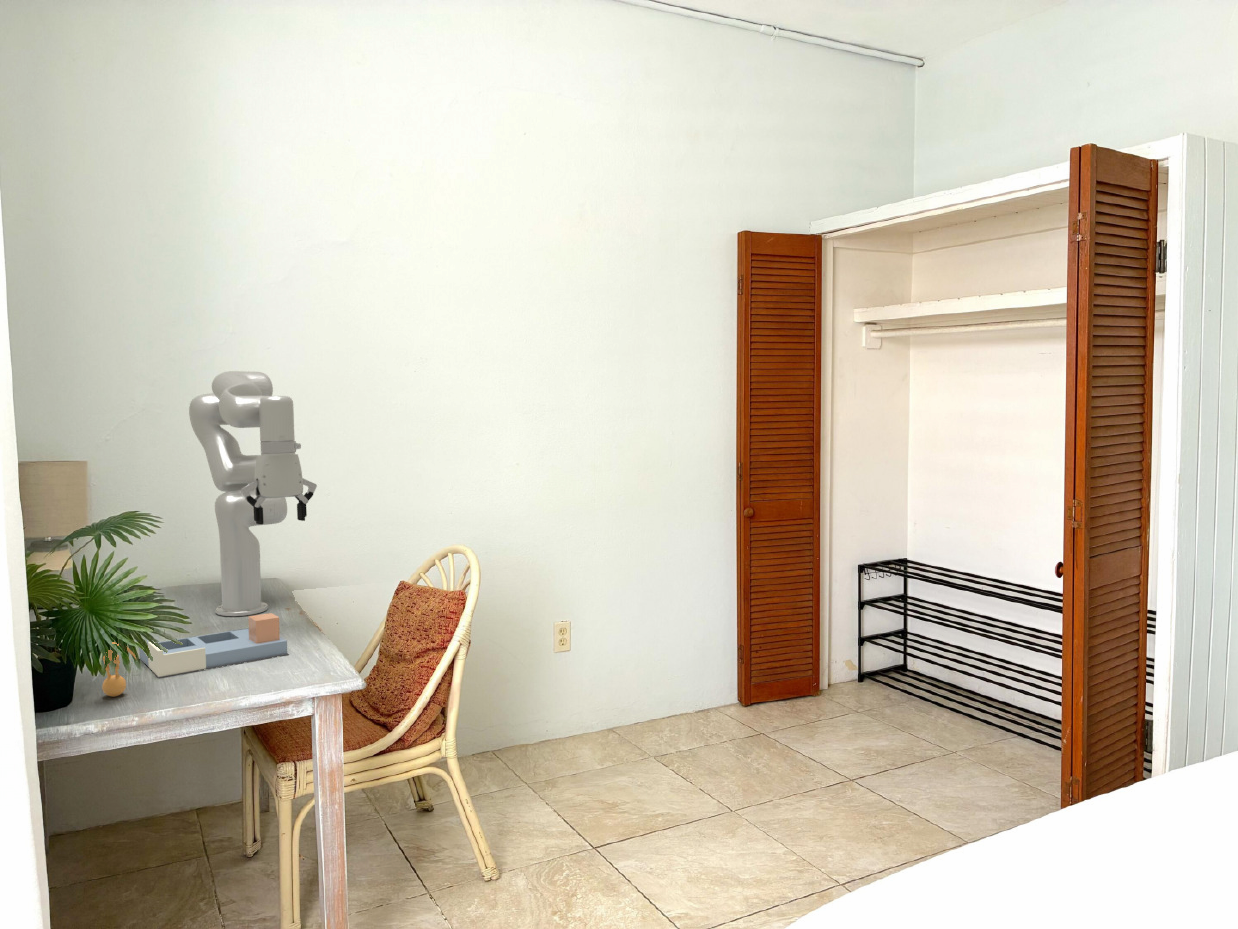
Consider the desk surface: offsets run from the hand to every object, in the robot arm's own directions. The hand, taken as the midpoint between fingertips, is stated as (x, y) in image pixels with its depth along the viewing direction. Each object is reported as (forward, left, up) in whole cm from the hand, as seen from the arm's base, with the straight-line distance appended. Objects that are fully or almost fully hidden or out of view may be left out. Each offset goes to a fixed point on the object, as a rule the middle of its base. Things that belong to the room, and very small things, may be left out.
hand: (280, 522), depth 215 cm
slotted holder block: (+8, -18, -27) cm, 33 cm away
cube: (+12, -8, -24) cm, 28 cm away
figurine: (+24, -40, -27) cm, 54 cm away
